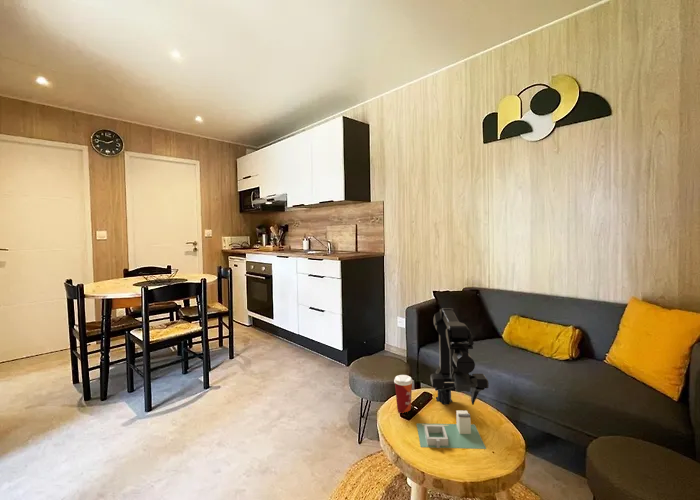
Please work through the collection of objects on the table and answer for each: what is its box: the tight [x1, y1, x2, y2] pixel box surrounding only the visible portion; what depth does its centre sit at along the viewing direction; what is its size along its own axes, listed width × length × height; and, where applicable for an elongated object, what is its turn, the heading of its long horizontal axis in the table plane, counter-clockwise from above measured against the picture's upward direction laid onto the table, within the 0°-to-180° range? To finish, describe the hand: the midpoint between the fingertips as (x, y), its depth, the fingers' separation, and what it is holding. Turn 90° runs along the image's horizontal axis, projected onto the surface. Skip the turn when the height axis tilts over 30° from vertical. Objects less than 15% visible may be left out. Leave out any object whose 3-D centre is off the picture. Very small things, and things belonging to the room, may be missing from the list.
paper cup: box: [393, 374, 413, 414], centre depth 140 cm, size 8×8×14 cm
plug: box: [455, 410, 472, 434], centre depth 123 cm, size 5×4×7 cm
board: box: [416, 422, 487, 450], centre depth 121 cm, size 14×22×4 cm, turn 85°
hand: (459, 404), depth 117 cm, fingers open, 9 cm apart
